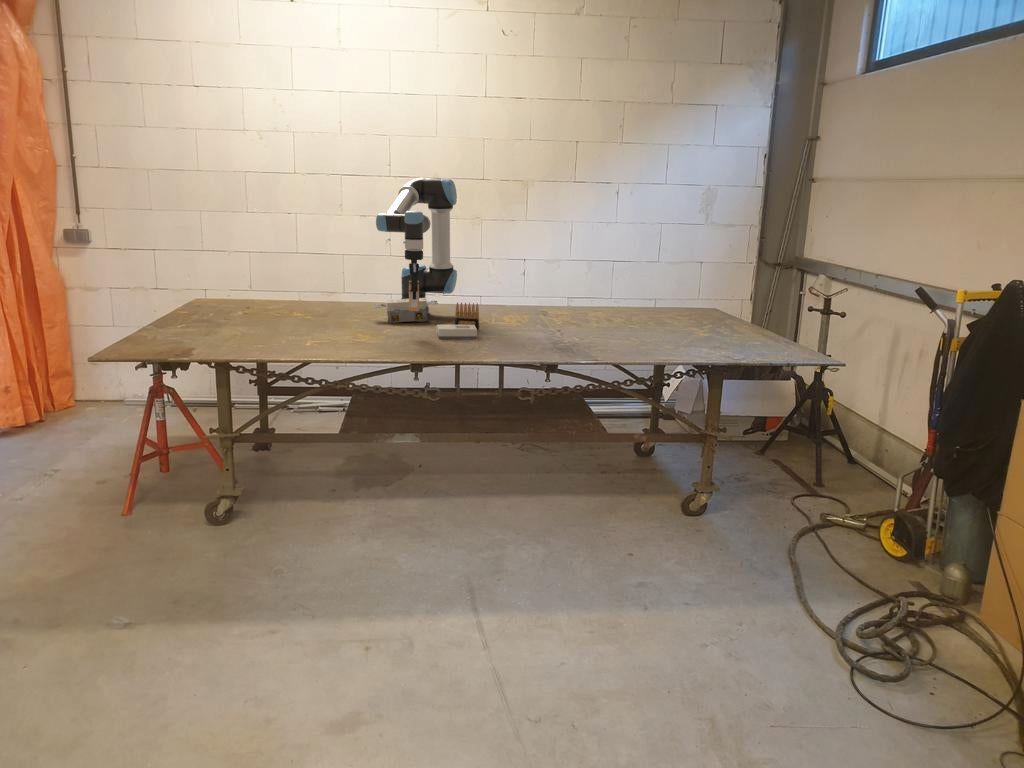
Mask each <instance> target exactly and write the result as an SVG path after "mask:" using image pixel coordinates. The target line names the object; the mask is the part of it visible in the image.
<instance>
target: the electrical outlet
mask: <svg viewBox="0 0 1024 768" xmlns="http://www.w3.org/2000/svg"><path fill="white" fill-rule="evenodd" d="M426 301H427V297H426V298H419V311H409V299H401V298H399V299H387V300H386V302H385V303H376V304H375V308H376V309H378V308H379V309H381V308H384V307H386V312H387V322H388V323H390V324H391V323H392V324H394V323H396V324H397V323H403V322H404V323H405V322H417V323H425V322H428V319H429V318H428V315H429V314H427V304H428V305H439V302H438V300H431V301H427V302H426Z"/></svg>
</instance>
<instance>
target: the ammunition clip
mask: <svg viewBox="0 0 1024 768" xmlns="http://www.w3.org/2000/svg"><path fill="white" fill-rule="evenodd" d="M479 311H480V310H479V303H476V305H475V303H474V302H473V303H472V306H471V303H470V302H469V303H468V305H467V303H466V302H465V303H464V306H463V303H462V302H461V303H460V306H459V302H456V305H455V318H454V319H455V320H454V321H455V322H454V325H475V327H476V329H477V331H479V330H480V321H479V320H480V312H479Z"/></svg>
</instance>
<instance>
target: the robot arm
mask: <svg viewBox="0 0 1024 768" xmlns="http://www.w3.org/2000/svg"><path fill="white" fill-rule="evenodd" d="M457 195H458V194H457V189H456V184H455V181H454V180H452V179H451V178H444V177H417V178H414V179H411V180H409V181H407V182H406V183H405V184H404V185H402V186H401V187H400V189H399V190H398V196H397V198H395V200H394V201H393V203H392V205H391V206H390V207H389V209H388V210H387V211H386V213H385V212H381V213H378V214H377V215H376V218H375V225H376V229H377V231H378V232H384V233H402V234H403V233H404V241H403V242H402V243H403V244H404V249H405V250H404V259H405V260H407V261H410V262H409V264H408V266H405V267H403V268H402V269H401V277H400V278H401V298H400V299H409V281H411V290H410V292H411V307H418V281H419V298H426V299H427V297H426V295H427V293H429V294H443V295H445V294H449V295H450V294H452V293H454V291H455V290H456V289H455V288H456V285H457V280H458V270H456V269H454V265H453V263H452V262H451V227H450V226H451V211H452V210H453V209H454V206H455V205H456V204H457V201H458V200H457V199H458V196H457ZM417 204H426V205H427V209H429V210H430V213H431V220H430V217H428V215H425V214H424V213H423V212H422V211H419V210H411V208H413V206H416V205H417ZM430 228H431V258H432V259H431V260H432V261H431V262H430V264H429V265H428V268H427V267H426V264H425V265H424V264H419V263H418V261H422V260H424V233H426V232H428V231H429V230H430ZM426 302H428V301H427V300H426ZM429 314H430V307H429V304H427V315H429Z"/></svg>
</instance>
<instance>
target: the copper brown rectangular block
mask: <svg viewBox="0 0 1024 768" xmlns="http://www.w3.org/2000/svg"><path fill="white" fill-rule="evenodd" d="M410 290H411V281H409V311H419V281H418V307H411V292H410Z"/></svg>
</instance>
